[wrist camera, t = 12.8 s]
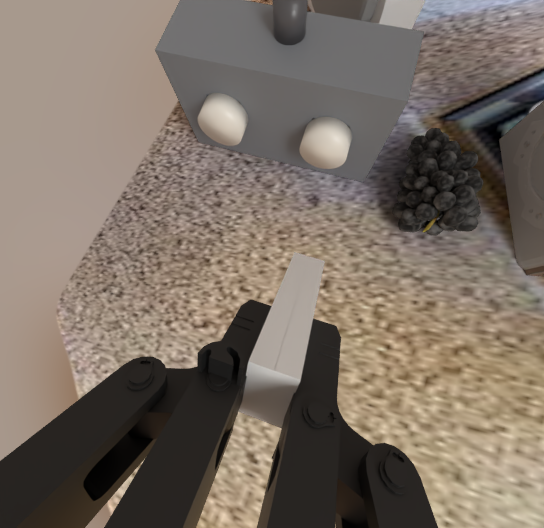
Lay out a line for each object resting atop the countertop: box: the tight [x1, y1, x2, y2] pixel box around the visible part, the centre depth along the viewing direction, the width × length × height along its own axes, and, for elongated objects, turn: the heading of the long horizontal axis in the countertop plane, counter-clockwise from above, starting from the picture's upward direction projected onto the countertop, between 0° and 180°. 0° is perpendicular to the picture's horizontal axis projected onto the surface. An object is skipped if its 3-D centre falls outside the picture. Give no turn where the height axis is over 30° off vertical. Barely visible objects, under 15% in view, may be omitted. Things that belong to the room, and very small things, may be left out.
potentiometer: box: [273, 0, 308, 45], centre depth 23 cm, size 3×3×5 cm
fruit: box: [392, 128, 483, 235], centre depth 31 cm, size 9×8×15 cm
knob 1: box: [198, 93, 248, 146], centre depth 31 cm, size 5×7×5 cm
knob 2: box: [300, 117, 352, 169], centre depth 29 cm, size 5×7×5 cm
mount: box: [155, 0, 424, 182], centre depth 31 cm, size 24×8×13 cm, turn 73°
